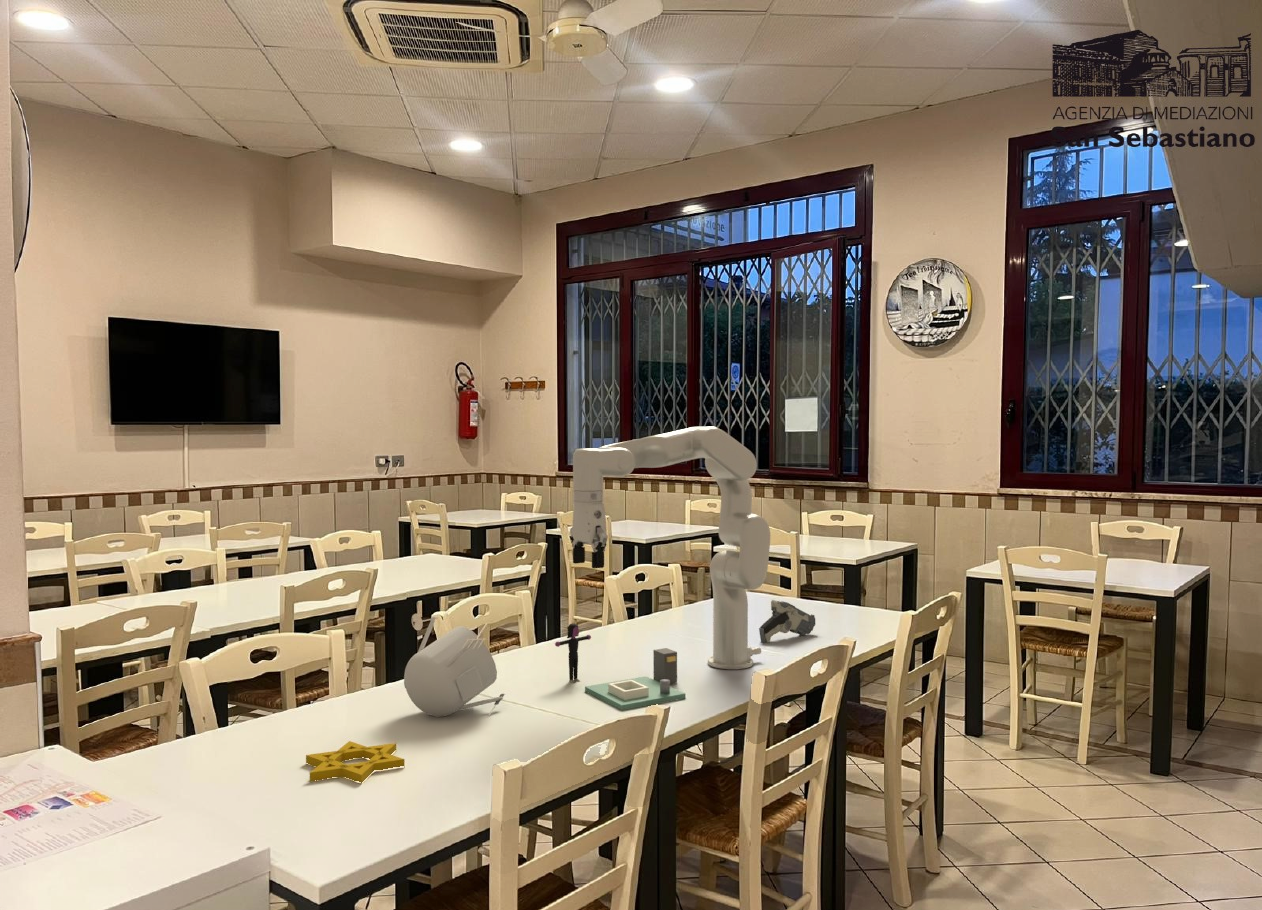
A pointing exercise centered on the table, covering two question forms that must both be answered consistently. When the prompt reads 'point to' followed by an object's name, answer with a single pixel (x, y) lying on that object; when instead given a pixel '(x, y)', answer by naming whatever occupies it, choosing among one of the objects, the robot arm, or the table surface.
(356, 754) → the star of david
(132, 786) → the table surface
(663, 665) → the plug
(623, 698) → the board
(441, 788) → the table surface
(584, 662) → the table surface
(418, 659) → the satellite
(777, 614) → the toy gun
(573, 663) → the figurine
